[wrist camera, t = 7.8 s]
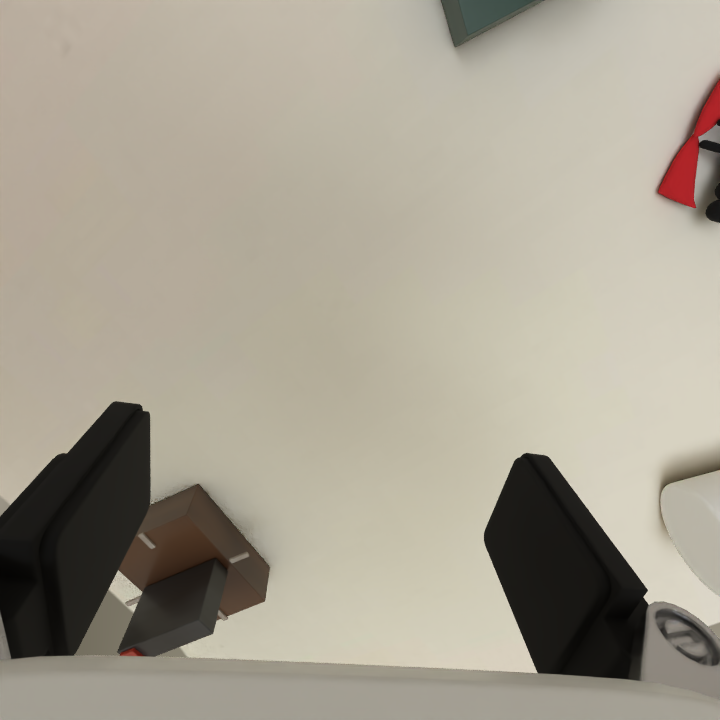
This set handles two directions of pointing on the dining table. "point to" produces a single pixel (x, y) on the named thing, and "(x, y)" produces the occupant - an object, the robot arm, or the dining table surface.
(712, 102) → the toy figure
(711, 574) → the mug
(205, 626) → the bar knob
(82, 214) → the dining table surface
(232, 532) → the knob base block
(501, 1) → the button box
